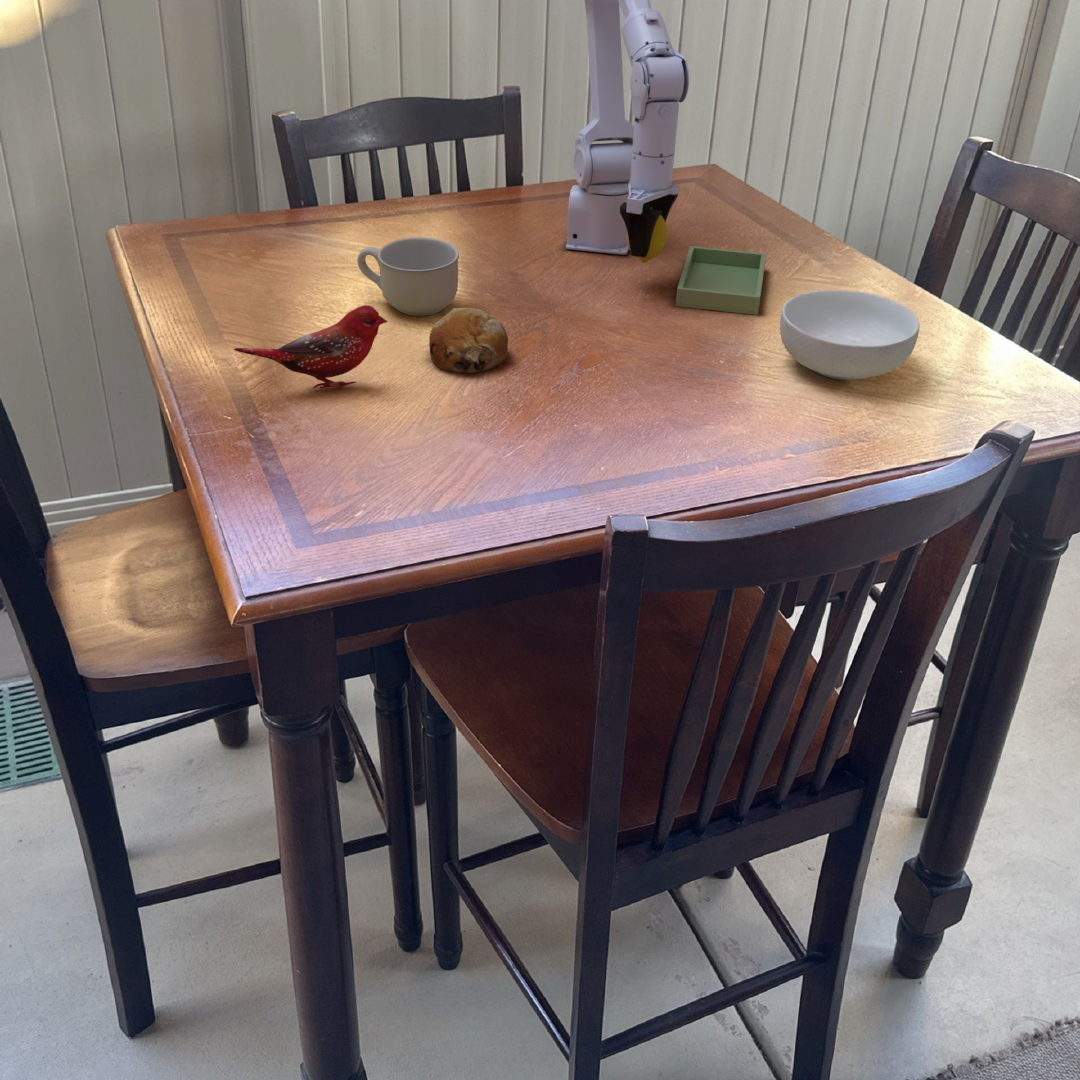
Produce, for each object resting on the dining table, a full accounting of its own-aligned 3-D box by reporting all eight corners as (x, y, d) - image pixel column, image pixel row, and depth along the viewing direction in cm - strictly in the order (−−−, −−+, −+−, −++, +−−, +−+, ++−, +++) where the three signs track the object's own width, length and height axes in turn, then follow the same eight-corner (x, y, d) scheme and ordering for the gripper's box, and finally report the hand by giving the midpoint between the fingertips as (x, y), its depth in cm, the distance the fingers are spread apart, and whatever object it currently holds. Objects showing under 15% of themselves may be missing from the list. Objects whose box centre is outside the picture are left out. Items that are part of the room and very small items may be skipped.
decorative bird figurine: (393, 387, 135) (389, 308, 129) (241, 403, 130) (230, 322, 125) (388, 376, 137) (384, 299, 131) (239, 392, 133) (228, 312, 127)
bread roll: (513, 379, 145) (523, 317, 144) (487, 378, 135) (498, 311, 134) (442, 366, 148) (452, 305, 146) (411, 364, 138) (421, 298, 137)
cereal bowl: (765, 336, 150) (773, 285, 146) (891, 341, 150) (902, 291, 146) (784, 395, 136) (793, 341, 132) (922, 401, 136) (936, 346, 132)
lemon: (665, 270, 159) (670, 214, 155) (625, 268, 159) (629, 212, 155) (662, 256, 164) (667, 201, 159) (624, 254, 164) (628, 200, 159)
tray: (675, 306, 157) (677, 288, 156) (688, 262, 171) (689, 245, 170) (757, 315, 156) (760, 297, 154) (763, 270, 170) (766, 253, 168)
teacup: (473, 301, 157) (473, 245, 152) (434, 329, 149) (433, 271, 144) (387, 282, 161) (384, 228, 157) (345, 309, 153) (340, 252, 149)
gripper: (666, 169, 146) (657, 270, 153) (696, 142, 157) (686, 237, 165) (614, 162, 148) (608, 262, 155) (648, 135, 159) (640, 230, 167)
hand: (645, 249), depth 160 cm, fingers closed on lemon, 5 cm apart
